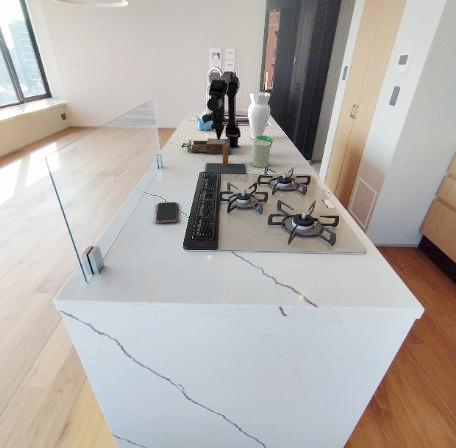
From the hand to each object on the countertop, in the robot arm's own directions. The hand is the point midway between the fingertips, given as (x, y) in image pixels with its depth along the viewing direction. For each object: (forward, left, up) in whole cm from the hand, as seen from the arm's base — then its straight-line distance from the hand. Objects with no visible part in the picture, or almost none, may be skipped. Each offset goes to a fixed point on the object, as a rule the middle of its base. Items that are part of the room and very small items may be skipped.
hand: (218, 139), depth 148 cm
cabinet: (-12, -17, -13) cm, 24 cm away
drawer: (-1, -25, -12) cm, 28 cm away
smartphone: (+48, +36, -13) cm, 62 cm away
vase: (-53, -28, -13) cm, 61 cm away
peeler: (-1, +5, -12) cm, 13 cm away
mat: (+2, +10, -13) cm, 16 cm away
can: (-18, +14, -13) cm, 26 cm away
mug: (-32, +1, -13) cm, 34 cm away
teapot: (-36, -69, -13) cm, 78 cm away
